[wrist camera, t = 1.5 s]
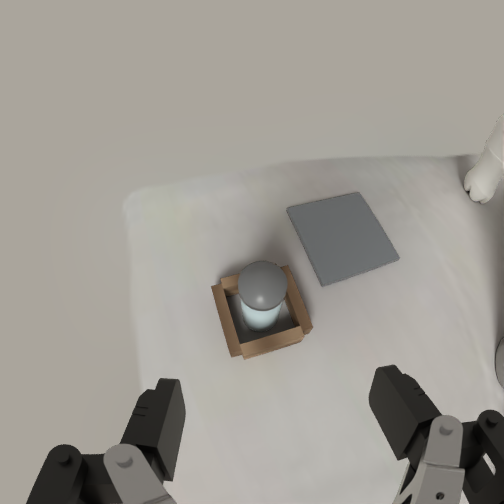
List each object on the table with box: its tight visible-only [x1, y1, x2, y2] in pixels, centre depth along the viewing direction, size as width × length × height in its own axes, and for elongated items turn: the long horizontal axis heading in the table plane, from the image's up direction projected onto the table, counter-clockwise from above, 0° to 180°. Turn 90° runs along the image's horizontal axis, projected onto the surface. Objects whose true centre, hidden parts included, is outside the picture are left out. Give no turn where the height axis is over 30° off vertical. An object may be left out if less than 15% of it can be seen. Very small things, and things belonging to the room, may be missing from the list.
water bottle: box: [464, 114, 504, 204], centre depth 32 cm, size 7×7×25 cm
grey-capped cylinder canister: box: [238, 261, 288, 332], centre depth 28 cm, size 4×4×8 cm
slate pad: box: [287, 193, 400, 287], centre depth 37 cm, size 12×12×1 cm
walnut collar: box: [211, 264, 313, 359], centre depth 30 cm, size 9×9×2 cm
